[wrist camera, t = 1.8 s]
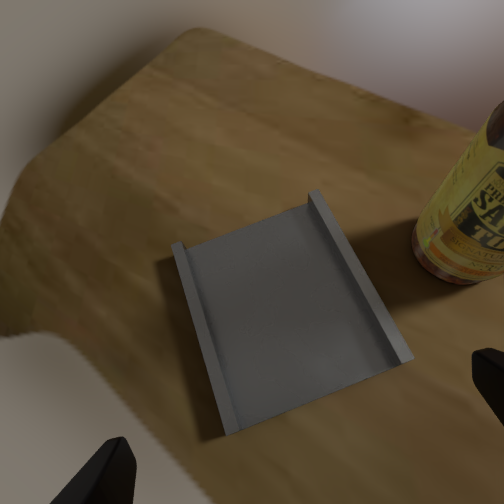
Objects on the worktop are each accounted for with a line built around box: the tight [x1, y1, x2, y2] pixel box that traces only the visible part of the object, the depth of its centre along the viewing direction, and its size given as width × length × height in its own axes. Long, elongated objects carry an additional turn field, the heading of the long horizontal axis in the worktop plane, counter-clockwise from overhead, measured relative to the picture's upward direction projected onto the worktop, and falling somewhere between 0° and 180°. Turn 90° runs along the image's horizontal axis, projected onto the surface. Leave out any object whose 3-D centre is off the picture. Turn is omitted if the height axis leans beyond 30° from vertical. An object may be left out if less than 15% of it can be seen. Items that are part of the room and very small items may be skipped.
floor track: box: [171, 189, 415, 436], centre depth 23 cm, size 13×12×2 cm
